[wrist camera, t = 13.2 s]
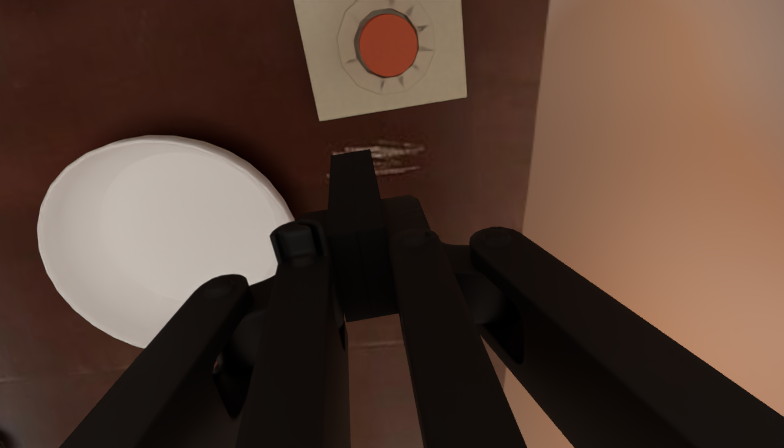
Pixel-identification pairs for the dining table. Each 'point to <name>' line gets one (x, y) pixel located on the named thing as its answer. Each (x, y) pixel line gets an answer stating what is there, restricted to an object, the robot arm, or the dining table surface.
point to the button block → (351, 75)
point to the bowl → (154, 229)
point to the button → (387, 44)
